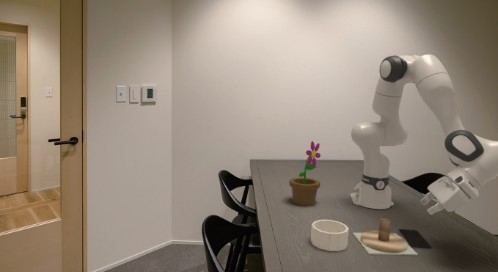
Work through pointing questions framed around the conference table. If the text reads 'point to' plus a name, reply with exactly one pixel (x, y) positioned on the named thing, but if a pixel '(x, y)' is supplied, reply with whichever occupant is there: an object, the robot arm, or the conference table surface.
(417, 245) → the smartphone
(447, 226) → the conference table surface
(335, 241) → the bowl
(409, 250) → the mat
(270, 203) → the conference table surface
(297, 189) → the flowerpot
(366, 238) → the lid
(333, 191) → the conference table surface
